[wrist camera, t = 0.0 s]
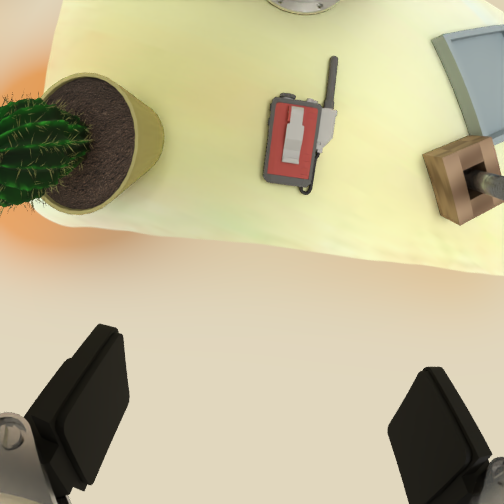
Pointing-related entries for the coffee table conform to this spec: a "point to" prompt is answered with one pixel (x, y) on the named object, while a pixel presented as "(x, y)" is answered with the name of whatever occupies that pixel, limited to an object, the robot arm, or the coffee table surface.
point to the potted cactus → (76, 144)
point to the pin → (485, 182)
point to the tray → (477, 77)
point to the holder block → (462, 177)
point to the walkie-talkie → (299, 136)
